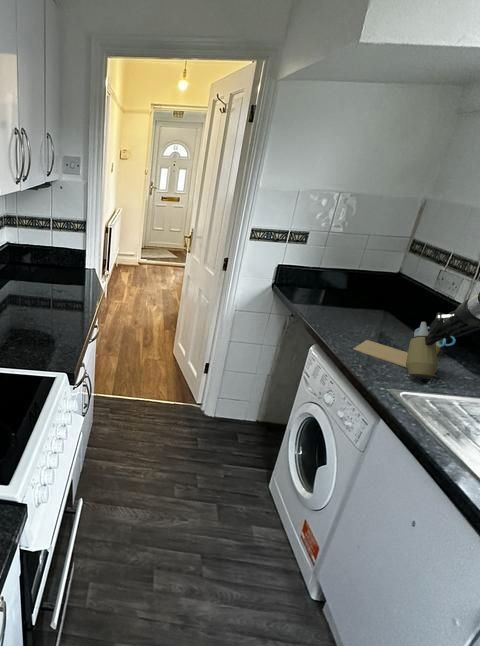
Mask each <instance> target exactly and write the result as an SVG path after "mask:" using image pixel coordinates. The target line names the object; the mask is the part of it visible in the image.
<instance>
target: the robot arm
mask: <svg viewBox="0 0 480 646" xmlns="http://www.w3.org/2000/svg"><path fill="white" fill-rule="evenodd" d="M444 314H445V313H442V312H437V313H436V316H437V317H436V316H435V318H434V320H433V321H432V322H431V323H430V325H429V326H428V327H429V329H428V331H430V333H428V335H427V336H425V344H426V345H432V344H434V343H436V342H438V341H439V340H443V339H444V338H445V339H446V341H449V340H451V338H450V337H451V336H453V337H454V338H455V339H456V338H460V337H463V336H465V335H468V334H471V333H473V332H476V331H479V330H480V291H478V292H477V293H475V294H474V295H473V296H471V297H469V298H468V299H466V300H464V301H463V302H462V303H460V304H459V305H458V307H457V308H456V309H455V310H453V311H450V312H449V313H448V314H446V315H444ZM447 319H448V320H447Z"/></svg>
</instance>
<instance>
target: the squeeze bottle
mask: <svg viewBox="0 0 480 646" xmlns="http://www.w3.org/2000/svg"><path fill="white" fill-rule="evenodd" d="M427 327H428V325H427V322H426V321H421V322H420V325H419V327H418V328H419V331H417V332H415V331H414V332H415V333H414V332H413V338H411V339H410V340H409V345H408V350H407V352H408V355H407V360H406V367H407V368H406V367H405V368H406V369H407V373H408V375H409V376H410V377H414V378H421V379H428V378H433V377H434V375H435V373H436V371H437V369H438V368H439V367H438V366H439V365H438V354H437V352H436V343H434V344H432V345H426V344H425V336H427V335H428V333H430V332H429V329H427Z"/></svg>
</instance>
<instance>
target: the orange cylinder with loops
mask: <svg viewBox="0 0 480 646" xmlns="http://www.w3.org/2000/svg"><path fill="white" fill-rule="evenodd" d="M443 314H444V315H447V314H445V313H443ZM436 317H437V315H436V316H435V318H436ZM447 320H448V319H447ZM419 328H420V327H418V328H416V329H414V332H413V334H414V333H415V332H418V331H419ZM427 329H428V332H430V330H429V326H427ZM450 339H452V342H450V343H447V340H446V339H445V338H444V339H443V340H439V341H438V342H436V352H437V355H438V354H439V352H440V350H441V349H442V348H444V346H445V347H452V346H454V345H455V344H456V341H457V340H456V338H455V337H453V336H451V337H450Z"/></svg>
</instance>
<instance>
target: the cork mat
mask: <svg viewBox="0 0 480 646" xmlns="http://www.w3.org/2000/svg"><path fill="white" fill-rule="evenodd" d="M352 350H354V351H357V352H360V353H363V354H366V355H368V356H370V357H373V358H376V359H379V360H382V361H385V362H387V363H391V364H394V365H397V366H400V367H402V368H406V369H407V367H406V360H407V355H408V351H404V350H400V349H397V348H395V347H391V346H389V345H385V344H381V343H380V342H379V343H378V342H375V341H371V340H369V339H365V340H364V341H363V342H361V343H359V344H358V345H357V346H355V347H353V348H352Z"/></svg>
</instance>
